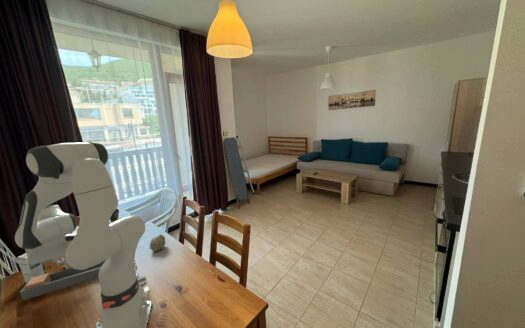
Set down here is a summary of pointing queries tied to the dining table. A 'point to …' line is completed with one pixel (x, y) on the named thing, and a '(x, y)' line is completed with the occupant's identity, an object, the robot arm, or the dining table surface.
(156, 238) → the beige rough lump
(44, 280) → the terracotta block
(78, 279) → the charcoal chute
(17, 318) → the dining table surface
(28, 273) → the syrup box
